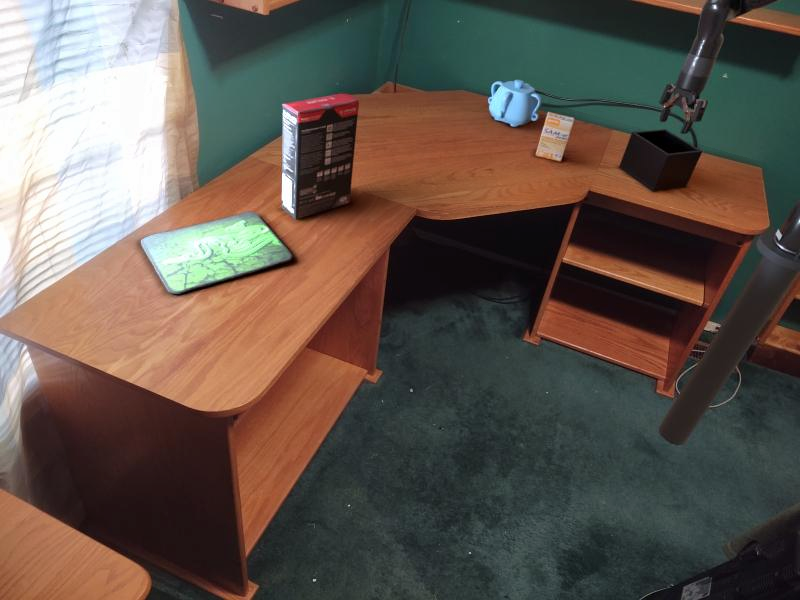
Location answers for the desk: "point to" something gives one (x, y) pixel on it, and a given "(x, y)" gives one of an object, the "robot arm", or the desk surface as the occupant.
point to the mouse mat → (213, 251)
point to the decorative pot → (514, 102)
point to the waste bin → (659, 159)
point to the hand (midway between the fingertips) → (672, 127)
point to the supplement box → (554, 136)
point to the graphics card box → (318, 153)
